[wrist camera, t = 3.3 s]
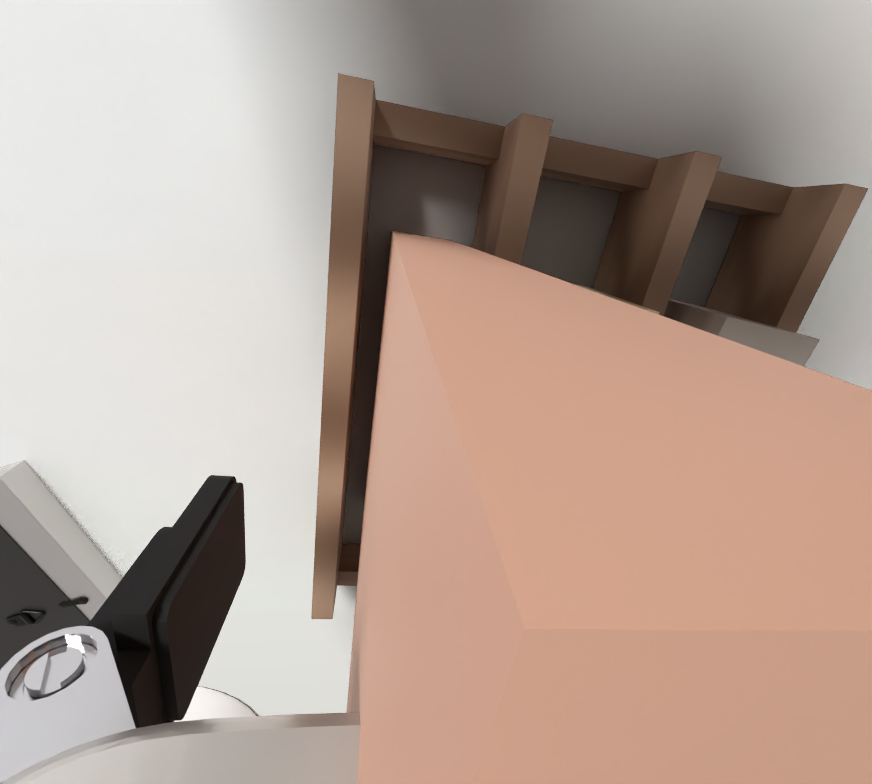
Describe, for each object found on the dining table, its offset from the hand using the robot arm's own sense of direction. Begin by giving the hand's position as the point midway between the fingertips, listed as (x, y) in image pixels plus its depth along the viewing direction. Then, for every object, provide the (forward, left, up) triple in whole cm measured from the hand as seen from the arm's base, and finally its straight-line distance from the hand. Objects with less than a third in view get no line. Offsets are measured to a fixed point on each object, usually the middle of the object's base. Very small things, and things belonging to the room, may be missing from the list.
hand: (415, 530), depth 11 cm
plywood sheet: (0, 0, -10) cm, 10 cm away
